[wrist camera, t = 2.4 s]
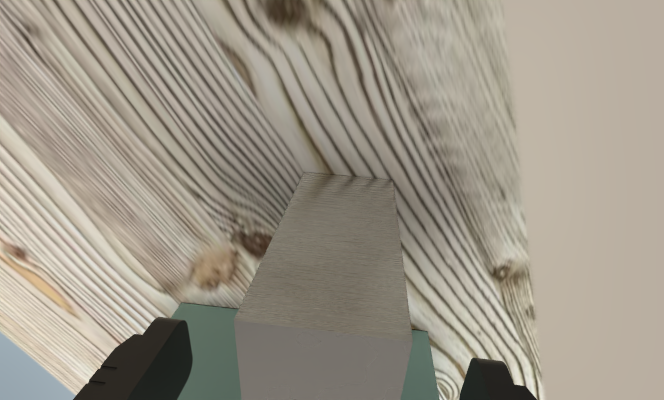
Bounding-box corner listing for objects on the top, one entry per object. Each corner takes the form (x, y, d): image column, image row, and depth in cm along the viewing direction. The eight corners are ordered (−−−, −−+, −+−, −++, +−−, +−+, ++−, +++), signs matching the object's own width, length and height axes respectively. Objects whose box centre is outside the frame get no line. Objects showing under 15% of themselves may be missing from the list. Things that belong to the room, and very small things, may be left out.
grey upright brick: (303, 172, 16) (234, 319, 8) (392, 179, 16) (412, 341, 8) (302, 245, 18) (244, 427, 10) (382, 254, 18) (389, 447, 9)
